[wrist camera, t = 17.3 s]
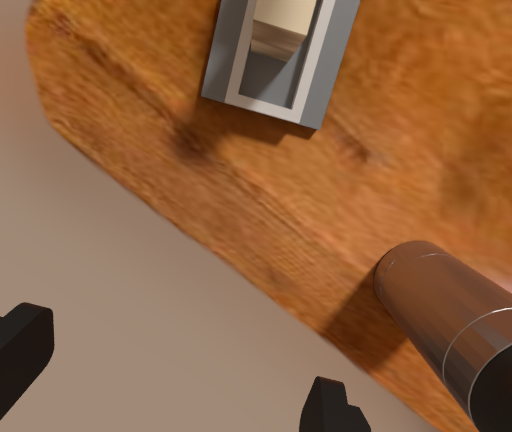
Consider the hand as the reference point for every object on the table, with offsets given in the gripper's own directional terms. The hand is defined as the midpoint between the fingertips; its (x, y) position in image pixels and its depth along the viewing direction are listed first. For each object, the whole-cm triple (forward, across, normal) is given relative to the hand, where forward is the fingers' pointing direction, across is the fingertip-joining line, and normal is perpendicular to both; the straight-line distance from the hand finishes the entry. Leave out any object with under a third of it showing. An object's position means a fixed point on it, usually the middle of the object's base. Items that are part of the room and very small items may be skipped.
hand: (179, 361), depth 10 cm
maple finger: (+27, +1, -11) cm, 29 cm away
